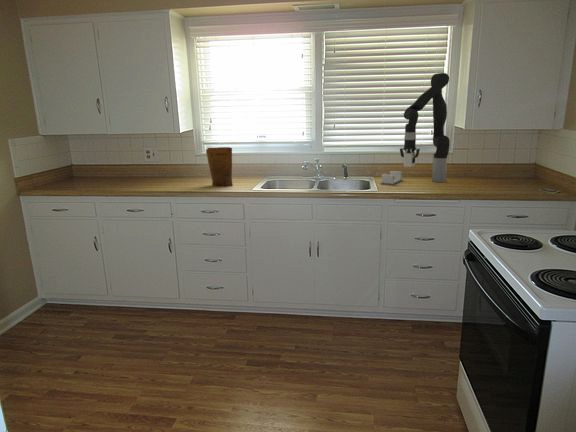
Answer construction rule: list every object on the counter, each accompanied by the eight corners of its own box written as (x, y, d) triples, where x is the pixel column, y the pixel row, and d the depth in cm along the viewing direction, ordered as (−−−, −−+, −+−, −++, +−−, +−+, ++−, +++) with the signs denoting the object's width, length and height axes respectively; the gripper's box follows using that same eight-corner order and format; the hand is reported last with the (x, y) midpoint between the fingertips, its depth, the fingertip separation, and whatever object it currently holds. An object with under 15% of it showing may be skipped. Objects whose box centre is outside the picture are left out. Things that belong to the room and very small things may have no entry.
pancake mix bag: (232, 187, 306) (230, 147, 298) (207, 186, 311) (205, 147, 303) (235, 185, 312) (233, 146, 305) (211, 184, 317) (209, 146, 310)
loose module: (414, 165, 304) (415, 152, 301) (410, 167, 297) (411, 153, 294) (407, 164, 306) (408, 151, 304) (403, 166, 299) (404, 153, 297)
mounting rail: (402, 181, 316) (403, 171, 314) (392, 185, 300) (393, 175, 298) (390, 180, 321) (391, 170, 319) (380, 184, 305) (380, 174, 303)
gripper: (422, 138, 296) (421, 163, 300) (401, 138, 303) (401, 162, 308) (418, 139, 290) (417, 164, 294) (398, 139, 297) (397, 163, 302)
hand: (409, 163), depth 301 cm, fingers closed on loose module, 5 cm apart
